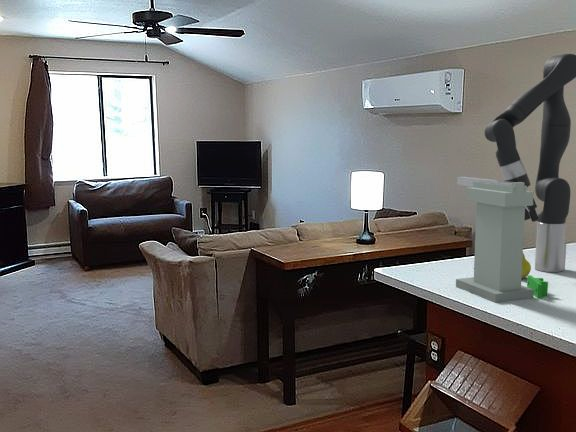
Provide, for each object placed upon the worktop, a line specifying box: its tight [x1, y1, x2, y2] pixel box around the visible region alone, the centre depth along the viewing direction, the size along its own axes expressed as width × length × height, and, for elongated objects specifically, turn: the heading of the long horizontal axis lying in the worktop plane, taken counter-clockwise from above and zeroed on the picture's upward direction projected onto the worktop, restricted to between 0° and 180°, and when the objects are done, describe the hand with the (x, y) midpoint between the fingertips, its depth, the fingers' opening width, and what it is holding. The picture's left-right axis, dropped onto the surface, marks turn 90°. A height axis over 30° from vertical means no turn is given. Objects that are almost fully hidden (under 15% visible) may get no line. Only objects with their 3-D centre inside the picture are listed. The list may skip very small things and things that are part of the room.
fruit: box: [522, 252, 532, 279], centre depth 198 cm, size 7×7×12 cm
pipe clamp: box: [526, 274, 549, 300], centre depth 179 cm, size 11×4×5 cm, turn 173°
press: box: [455, 182, 535, 303], centre depth 179 cm, size 14×19×35 cm
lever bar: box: [456, 176, 513, 188], centre depth 182 cm, size 3×26×3 cm, turn 19°
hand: (531, 220), depth 199 cm, fingers open, 8 cm apart
